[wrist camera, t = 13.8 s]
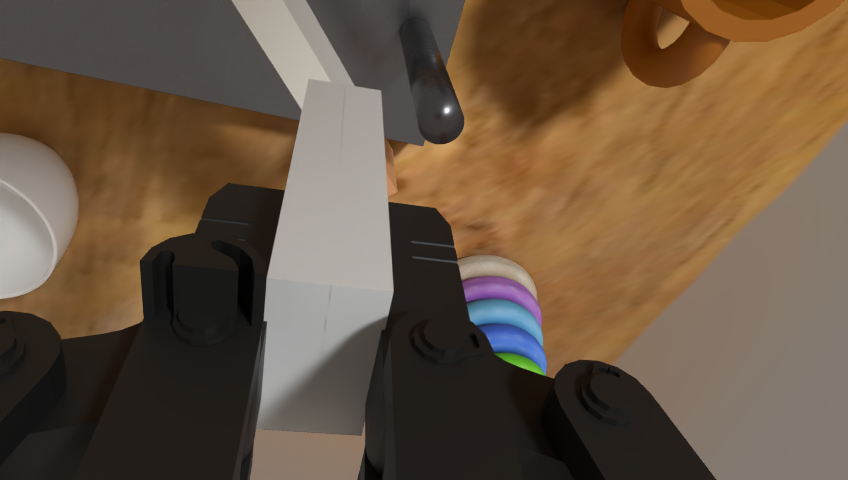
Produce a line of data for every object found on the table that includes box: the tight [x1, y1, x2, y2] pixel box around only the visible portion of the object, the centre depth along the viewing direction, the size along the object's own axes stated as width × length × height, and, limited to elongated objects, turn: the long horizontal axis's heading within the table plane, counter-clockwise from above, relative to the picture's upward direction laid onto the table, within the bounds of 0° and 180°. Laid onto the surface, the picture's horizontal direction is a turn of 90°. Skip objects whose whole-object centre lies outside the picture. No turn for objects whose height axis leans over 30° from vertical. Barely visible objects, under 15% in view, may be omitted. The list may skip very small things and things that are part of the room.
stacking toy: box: [457, 255, 547, 376], centre depth 35 cm, size 8×8×19 cm
